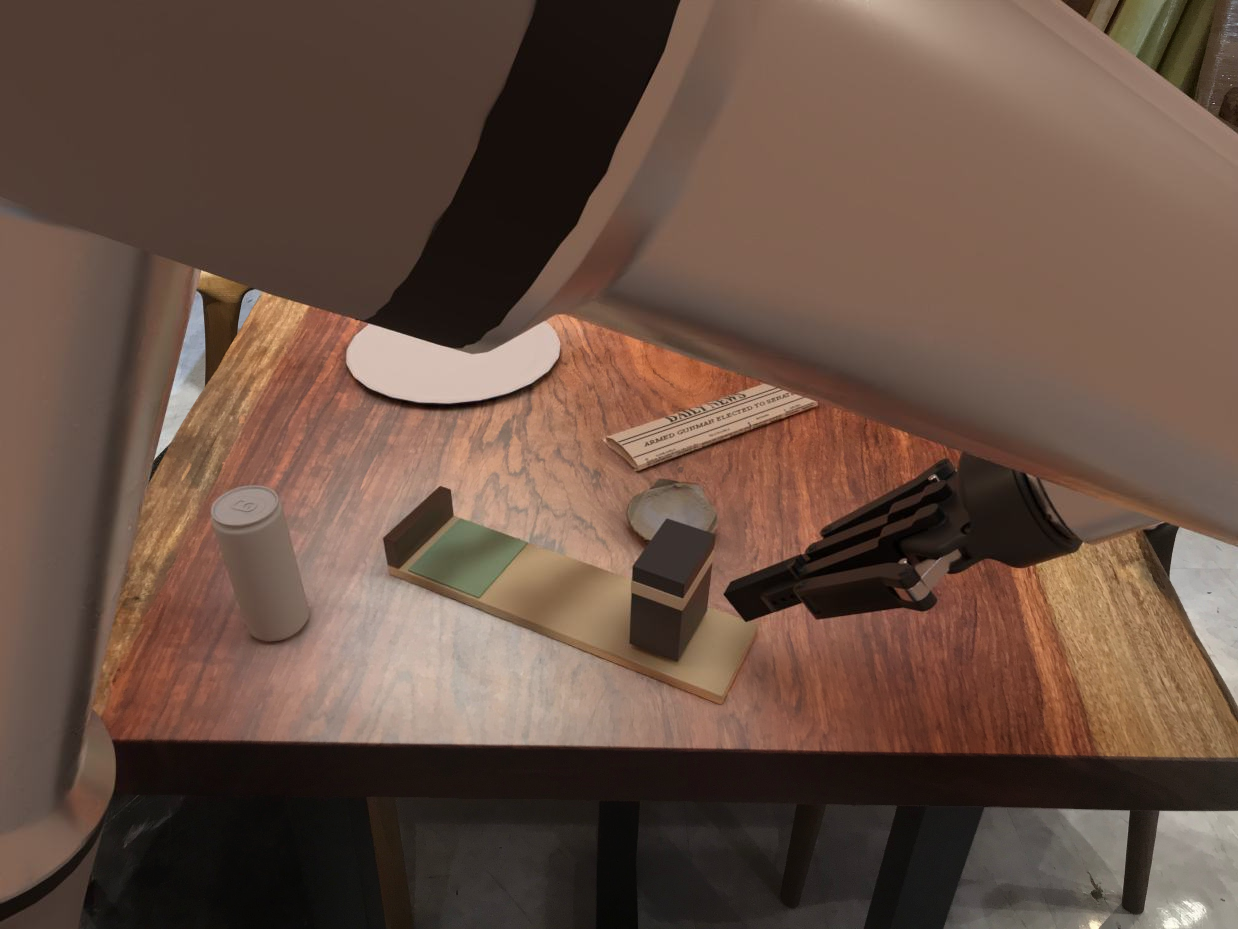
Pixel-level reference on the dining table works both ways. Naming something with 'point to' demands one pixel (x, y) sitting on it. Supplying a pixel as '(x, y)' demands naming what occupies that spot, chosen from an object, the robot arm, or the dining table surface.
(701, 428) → the newspaper
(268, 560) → the beverage can
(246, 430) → the dining table surface
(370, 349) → the plate
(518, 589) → the rail
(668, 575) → the dark grey lidded box
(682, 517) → the seashell
